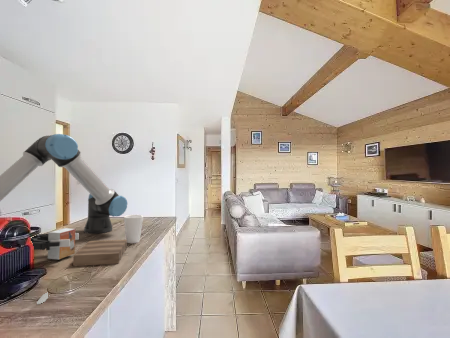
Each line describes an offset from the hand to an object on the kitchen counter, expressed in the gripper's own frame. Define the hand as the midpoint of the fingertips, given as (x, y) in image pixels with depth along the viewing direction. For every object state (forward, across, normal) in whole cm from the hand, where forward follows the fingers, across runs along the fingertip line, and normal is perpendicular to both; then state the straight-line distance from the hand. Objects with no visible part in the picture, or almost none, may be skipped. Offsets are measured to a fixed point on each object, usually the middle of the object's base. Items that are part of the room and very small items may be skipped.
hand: (74, 239), depth 101 cm
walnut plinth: (+11, 0, -8) cm, 13 cm away
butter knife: (+2, +24, -8) cm, 25 cm away
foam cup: (+21, -21, -8) cm, 30 cm away
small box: (-4, 0, -7) cm, 8 cm away
